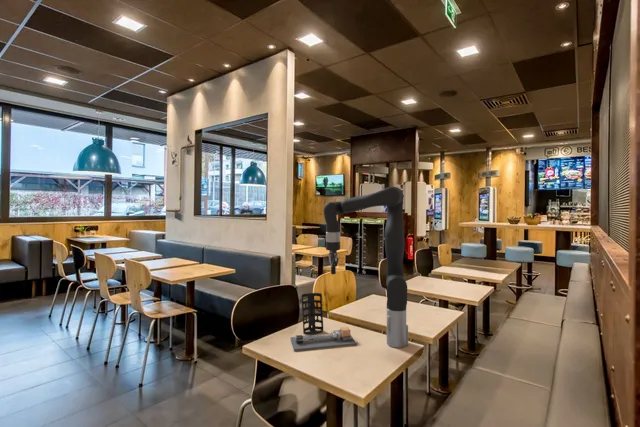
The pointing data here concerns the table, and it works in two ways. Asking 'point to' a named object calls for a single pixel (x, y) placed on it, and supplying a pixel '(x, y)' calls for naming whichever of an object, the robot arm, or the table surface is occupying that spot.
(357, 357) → the table surface
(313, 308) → the holder
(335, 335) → the base
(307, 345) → the tray
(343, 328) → the tab
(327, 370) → the table surface
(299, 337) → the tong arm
